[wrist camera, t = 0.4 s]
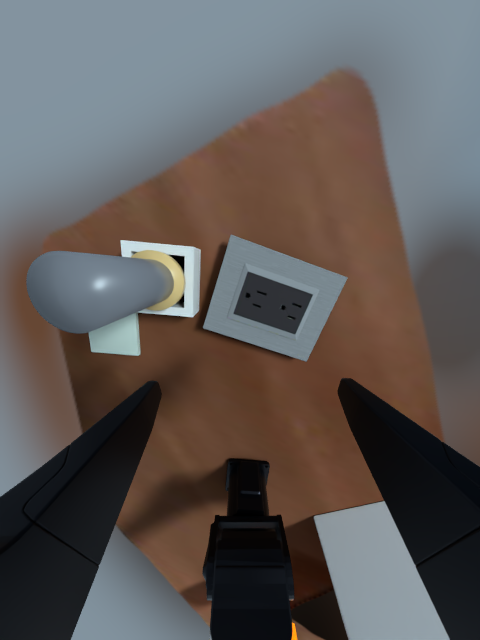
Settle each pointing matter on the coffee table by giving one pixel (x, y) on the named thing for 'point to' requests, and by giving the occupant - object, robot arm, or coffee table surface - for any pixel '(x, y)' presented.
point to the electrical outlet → (271, 299)
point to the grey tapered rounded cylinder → (101, 287)
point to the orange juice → (294, 638)
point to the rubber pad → (117, 337)
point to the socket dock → (190, 273)
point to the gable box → (376, 577)
